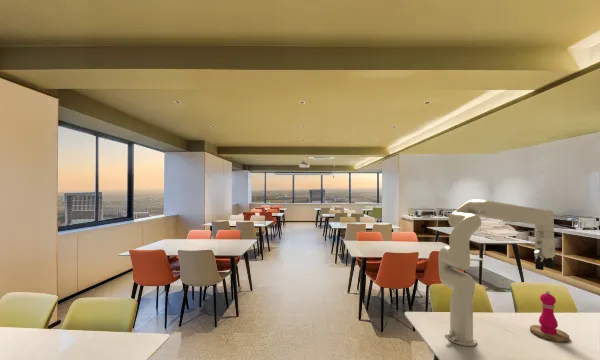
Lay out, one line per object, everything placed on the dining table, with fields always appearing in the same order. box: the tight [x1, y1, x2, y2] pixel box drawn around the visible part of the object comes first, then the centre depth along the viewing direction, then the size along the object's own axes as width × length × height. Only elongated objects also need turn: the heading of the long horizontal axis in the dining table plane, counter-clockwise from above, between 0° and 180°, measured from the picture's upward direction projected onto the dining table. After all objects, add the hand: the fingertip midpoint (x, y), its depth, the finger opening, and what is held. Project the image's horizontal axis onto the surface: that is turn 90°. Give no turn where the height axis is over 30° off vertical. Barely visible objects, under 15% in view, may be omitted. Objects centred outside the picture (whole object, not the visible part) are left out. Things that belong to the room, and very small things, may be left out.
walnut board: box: [529, 324, 570, 344], centre depth 147 cm, size 15×15×2 cm
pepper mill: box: [538, 290, 559, 335], centre depth 147 cm, size 7×7×20 cm
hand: (544, 268), depth 149 cm, fingers open, 9 cm apart
